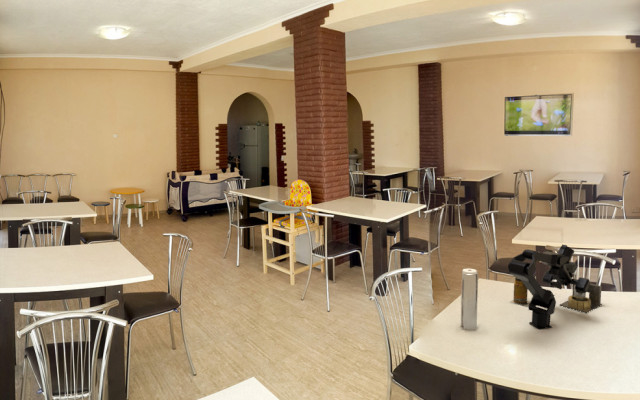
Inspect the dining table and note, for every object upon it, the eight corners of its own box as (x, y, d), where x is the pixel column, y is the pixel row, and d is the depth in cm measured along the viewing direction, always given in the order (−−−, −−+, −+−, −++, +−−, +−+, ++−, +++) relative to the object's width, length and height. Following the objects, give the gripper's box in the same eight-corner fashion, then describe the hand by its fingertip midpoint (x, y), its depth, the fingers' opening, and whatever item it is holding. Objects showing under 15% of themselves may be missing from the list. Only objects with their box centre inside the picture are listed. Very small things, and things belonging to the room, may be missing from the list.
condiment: (517, 298, 229) (518, 274, 227) (534, 303, 222) (535, 278, 221) (509, 302, 224) (510, 278, 223) (526, 306, 218) (527, 282, 216)
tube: (581, 307, 213) (582, 283, 212) (571, 304, 217) (572, 280, 216) (587, 305, 216) (588, 281, 214) (577, 302, 220) (578, 278, 218)
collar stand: (586, 313, 208) (587, 292, 207) (559, 305, 218) (560, 285, 217) (601, 305, 217) (602, 285, 216) (575, 298, 227) (576, 279, 225)
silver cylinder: (477, 330, 194) (479, 272, 190) (461, 329, 195) (462, 272, 191) (475, 324, 200) (477, 267, 196) (460, 323, 201) (461, 267, 198)
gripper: (589, 261, 197) (600, 281, 205) (546, 252, 212) (557, 271, 220) (579, 283, 194) (590, 302, 202) (536, 272, 209) (548, 291, 217)
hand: (571, 291), depth 210 cm, fingers open, 9 cm apart
